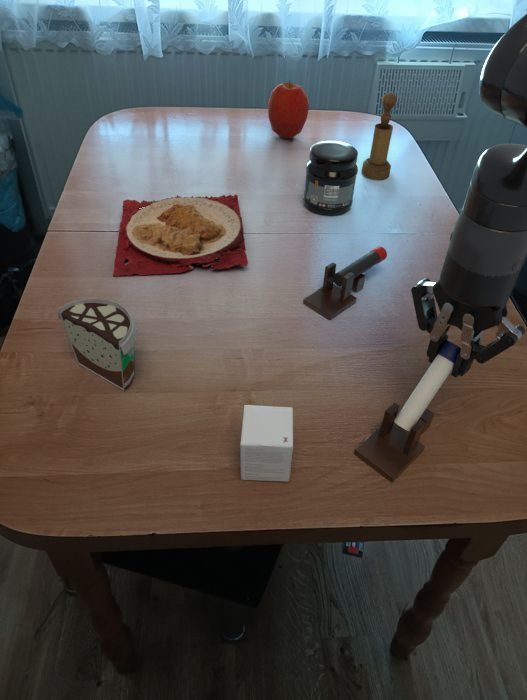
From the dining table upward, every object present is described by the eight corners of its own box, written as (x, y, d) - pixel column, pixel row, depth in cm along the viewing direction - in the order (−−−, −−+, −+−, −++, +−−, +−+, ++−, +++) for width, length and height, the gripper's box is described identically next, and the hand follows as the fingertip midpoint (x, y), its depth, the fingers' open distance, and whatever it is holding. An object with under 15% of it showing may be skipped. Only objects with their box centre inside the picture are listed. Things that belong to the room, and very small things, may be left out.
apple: (266, 143, 137) (268, 85, 127) (267, 127, 144) (269, 71, 135) (306, 145, 137) (312, 87, 127) (305, 129, 144) (310, 73, 135)
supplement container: (330, 188, 121) (337, 135, 113) (362, 209, 115) (371, 154, 107) (292, 200, 116) (297, 145, 108) (323, 222, 110) (330, 166, 102)
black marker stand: (343, 277, 97) (348, 249, 93) (370, 292, 94) (376, 263, 90) (302, 303, 91) (305, 274, 87) (329, 320, 88) (334, 291, 84)
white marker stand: (402, 408, 75) (412, 378, 71) (439, 433, 72) (452, 404, 68) (353, 453, 69) (361, 424, 65) (392, 483, 66) (402, 454, 62)
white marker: (448, 342, 68) (444, 338, 66) (466, 352, 67) (463, 349, 64) (396, 421, 69) (390, 420, 67) (413, 432, 68) (408, 432, 66)
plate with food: (237, 203, 115) (237, 187, 113) (248, 270, 97) (248, 254, 94) (124, 206, 113) (122, 191, 111) (112, 276, 94) (109, 259, 92)
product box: (290, 442, 70) (294, 406, 65) (289, 483, 66) (294, 447, 61) (243, 440, 70) (243, 403, 65) (239, 480, 66) (239, 444, 61)
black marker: (373, 256, 97) (376, 243, 95) (385, 262, 96) (388, 249, 94) (331, 283, 91) (333, 270, 89) (343, 290, 90) (345, 277, 88)
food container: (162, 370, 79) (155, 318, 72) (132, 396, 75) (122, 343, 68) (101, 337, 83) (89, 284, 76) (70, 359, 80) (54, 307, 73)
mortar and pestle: (355, 172, 127) (368, 92, 115) (373, 165, 131) (387, 86, 118) (377, 182, 124) (393, 101, 111) (395, 174, 127) (412, 94, 115)
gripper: (569, 265, 54) (511, 380, 66) (446, 212, 61) (415, 325, 73) (534, 298, 50) (480, 414, 62) (408, 238, 57) (382, 353, 69)
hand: (445, 365), depth 68 cm, fingers closed on white marker, 2 cm apart
